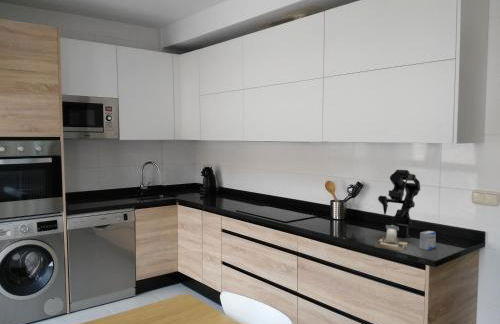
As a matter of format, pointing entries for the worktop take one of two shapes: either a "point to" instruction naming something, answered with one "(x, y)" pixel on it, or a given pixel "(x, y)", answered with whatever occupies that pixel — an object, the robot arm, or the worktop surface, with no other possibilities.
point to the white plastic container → (391, 233)
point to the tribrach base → (391, 244)
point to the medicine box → (427, 240)
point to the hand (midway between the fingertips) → (392, 215)
